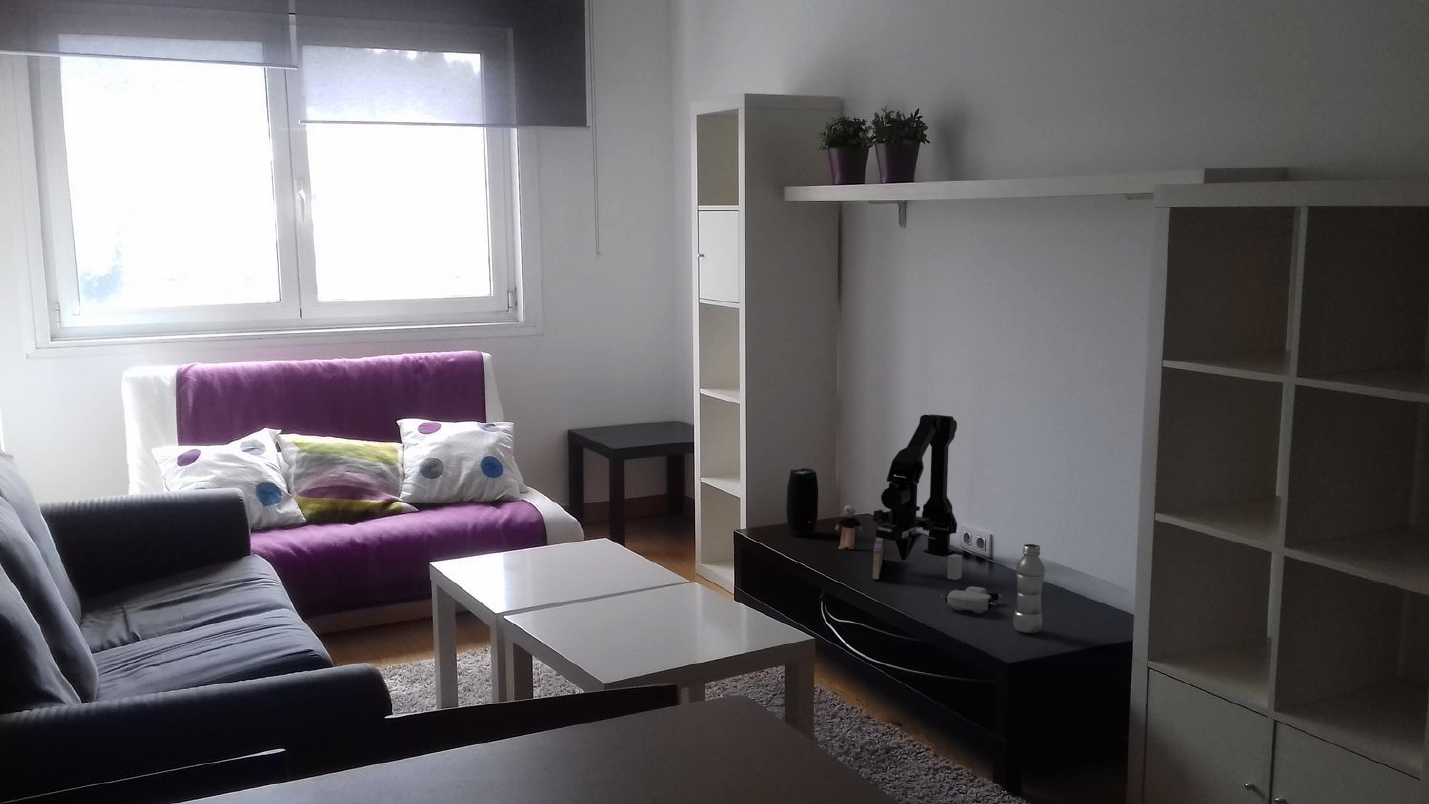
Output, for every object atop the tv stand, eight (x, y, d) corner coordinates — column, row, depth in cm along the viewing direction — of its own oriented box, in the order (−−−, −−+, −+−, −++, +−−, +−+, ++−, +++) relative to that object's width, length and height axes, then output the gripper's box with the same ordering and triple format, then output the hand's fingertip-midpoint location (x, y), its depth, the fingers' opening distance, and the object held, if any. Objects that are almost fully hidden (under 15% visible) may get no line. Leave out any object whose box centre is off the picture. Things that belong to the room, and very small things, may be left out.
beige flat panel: (876, 557, 335) (877, 531, 334) (884, 557, 335) (885, 531, 334) (871, 578, 314) (872, 550, 313) (879, 579, 313) (880, 551, 312)
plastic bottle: (1038, 627, 278) (1042, 542, 275) (1044, 636, 271) (1049, 550, 268) (1009, 626, 278) (1014, 541, 275) (1015, 636, 271) (1020, 549, 268)
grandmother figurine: (835, 550, 344) (837, 506, 343) (834, 546, 348) (835, 503, 347) (862, 550, 345) (864, 506, 343) (860, 547, 349) (862, 504, 347)
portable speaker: (818, 538, 358) (820, 473, 356) (787, 537, 358) (788, 472, 355) (815, 531, 367) (816, 467, 364) (784, 530, 366) (786, 467, 364)
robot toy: (954, 600, 302) (938, 611, 288) (955, 582, 301) (940, 592, 288) (1003, 607, 296) (990, 619, 283) (1005, 589, 296) (991, 600, 282)
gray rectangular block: (953, 576, 320) (954, 554, 319) (961, 577, 318) (962, 555, 317) (947, 578, 317) (948, 556, 317) (954, 580, 316) (956, 557, 315)
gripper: (901, 492, 331) (899, 548, 333) (859, 502, 318) (858, 560, 320) (935, 499, 324) (933, 555, 326) (894, 509, 310) (892, 568, 312)
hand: (903, 559), depth 321 cm, fingers closed
